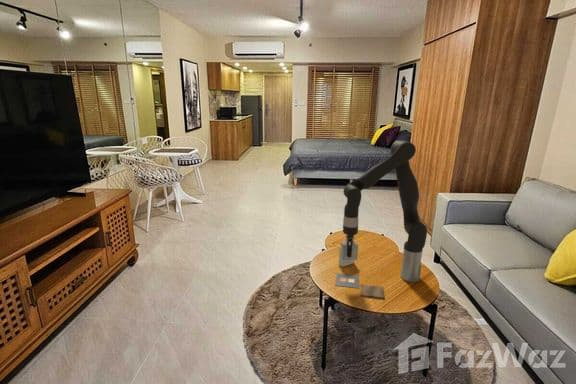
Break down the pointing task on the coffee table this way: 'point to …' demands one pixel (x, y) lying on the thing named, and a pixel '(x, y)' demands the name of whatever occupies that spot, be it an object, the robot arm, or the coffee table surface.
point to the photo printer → (344, 262)
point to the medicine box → (344, 251)
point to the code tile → (347, 280)
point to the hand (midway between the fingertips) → (349, 254)
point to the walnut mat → (372, 291)
